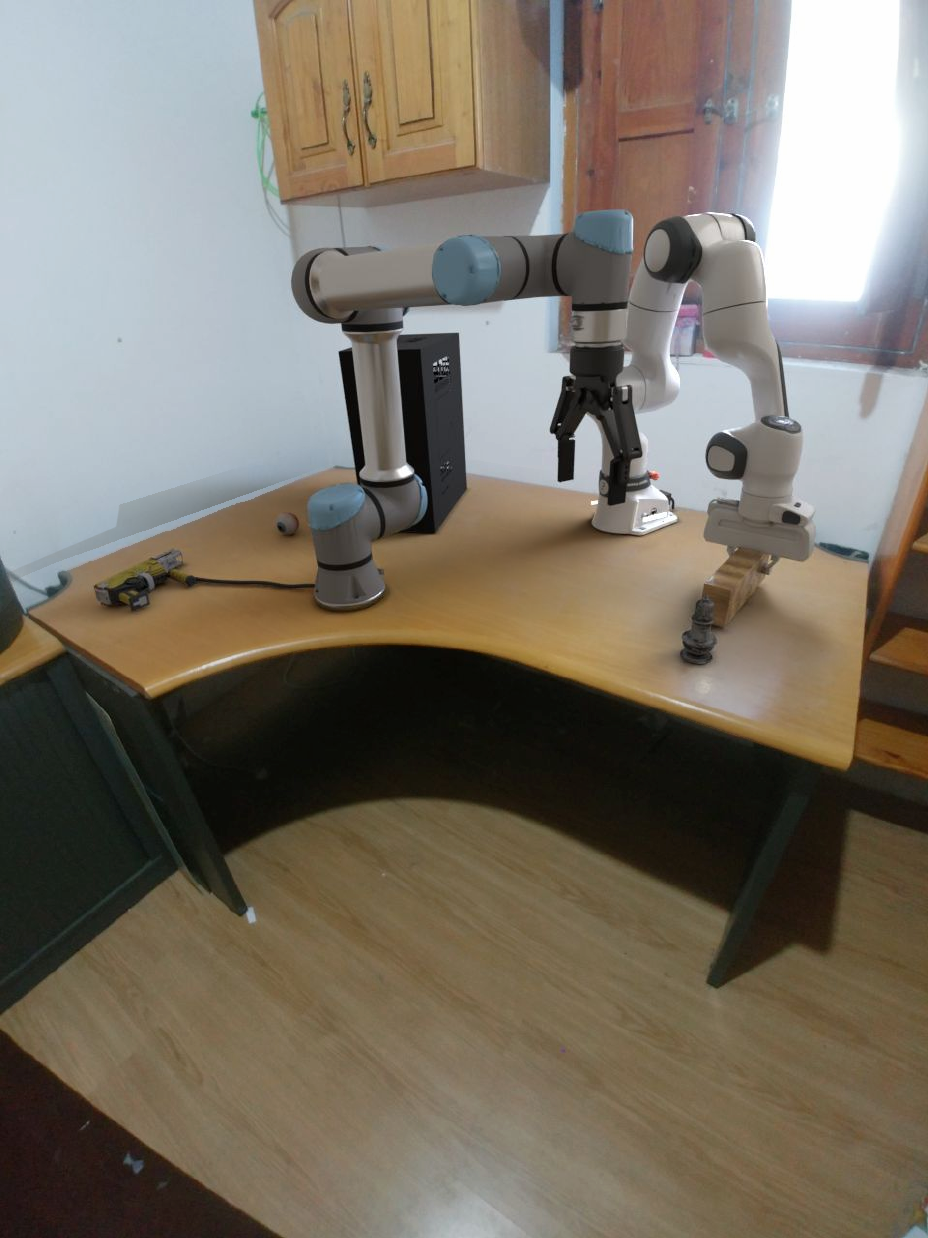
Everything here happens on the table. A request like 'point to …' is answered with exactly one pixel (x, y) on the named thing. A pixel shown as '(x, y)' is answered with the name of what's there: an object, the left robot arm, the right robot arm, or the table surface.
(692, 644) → the dark grey piece
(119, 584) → the toy gun
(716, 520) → the right robot arm
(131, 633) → the table surface
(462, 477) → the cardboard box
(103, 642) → the table surface
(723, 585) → the bar
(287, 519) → the eyeball
